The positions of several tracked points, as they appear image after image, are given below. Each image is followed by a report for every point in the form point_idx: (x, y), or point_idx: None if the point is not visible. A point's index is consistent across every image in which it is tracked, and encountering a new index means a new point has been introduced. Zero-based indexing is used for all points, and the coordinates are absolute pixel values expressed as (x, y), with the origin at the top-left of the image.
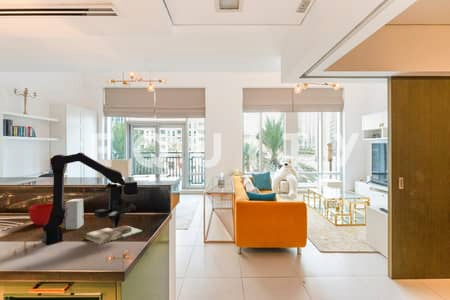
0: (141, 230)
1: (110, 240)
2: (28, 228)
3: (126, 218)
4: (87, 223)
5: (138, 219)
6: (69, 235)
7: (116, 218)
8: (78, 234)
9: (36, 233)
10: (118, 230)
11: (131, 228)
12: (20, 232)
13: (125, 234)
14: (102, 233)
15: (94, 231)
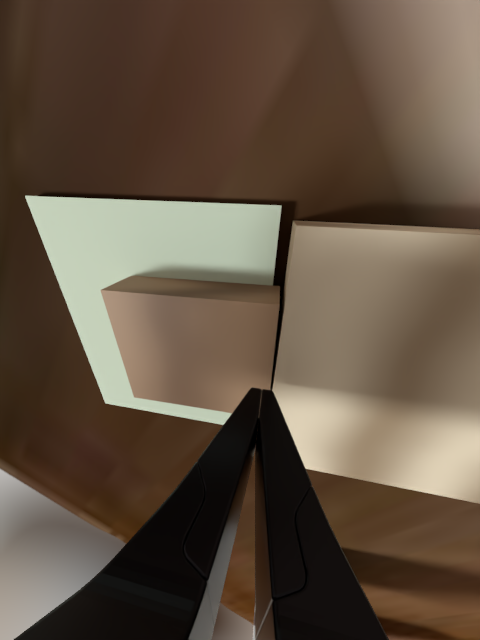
0: (34, 206)
1: (463, 228)
2: (394, 629)
3: (70, 475)
4: (235, 546)
5: (16, 428)
6: (419, 535)
7: (221, 562)
8: (384, 515)
9: (440, 610)
10: (262, 333)
11: (101, 339)
12: (446, 634)
13: (221, 247)
14: (443, 400)
15: (404, 483)
